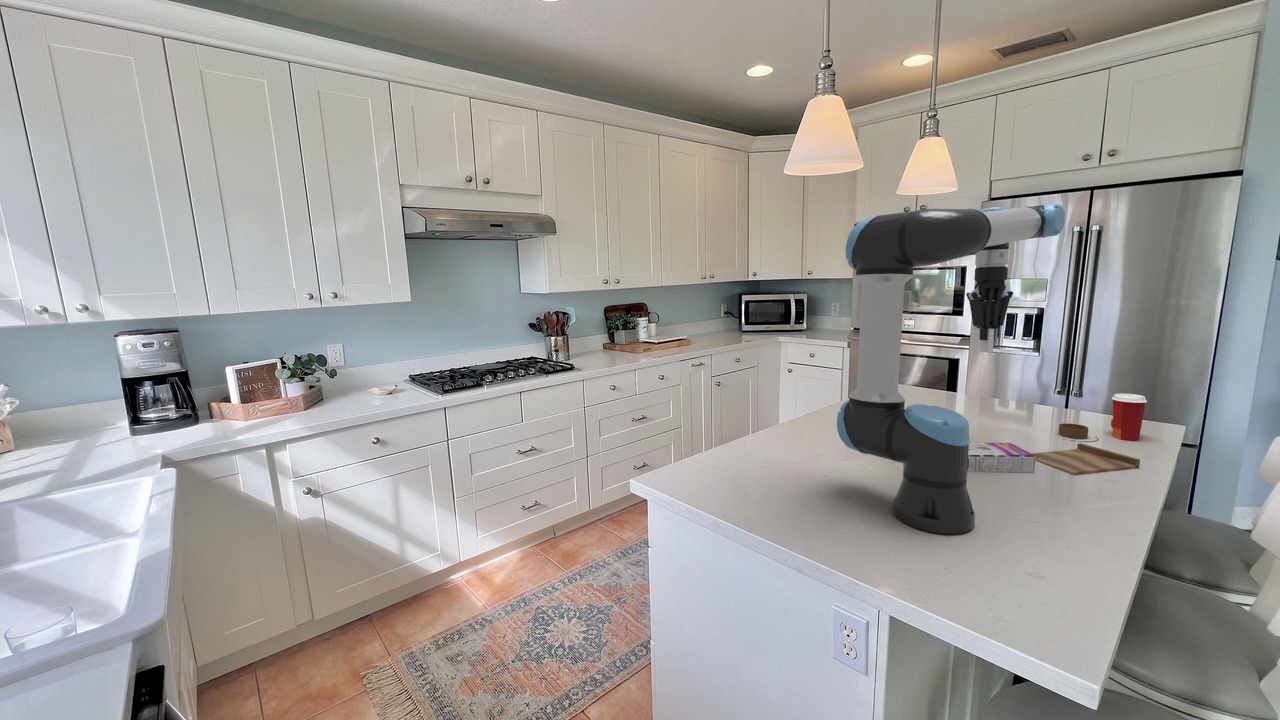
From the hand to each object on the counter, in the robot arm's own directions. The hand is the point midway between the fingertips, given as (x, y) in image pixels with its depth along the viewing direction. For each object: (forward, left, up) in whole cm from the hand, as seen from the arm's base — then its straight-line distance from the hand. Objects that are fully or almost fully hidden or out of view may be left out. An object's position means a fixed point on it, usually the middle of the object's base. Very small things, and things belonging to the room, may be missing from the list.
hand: (986, 351), depth 145 cm
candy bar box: (+2, -12, -27) cm, 29 cm away
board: (+17, -13, -29) cm, 37 cm away
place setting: (+40, +2, -30) cm, 50 cm away
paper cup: (+49, -1, -30) cm, 57 cm away
